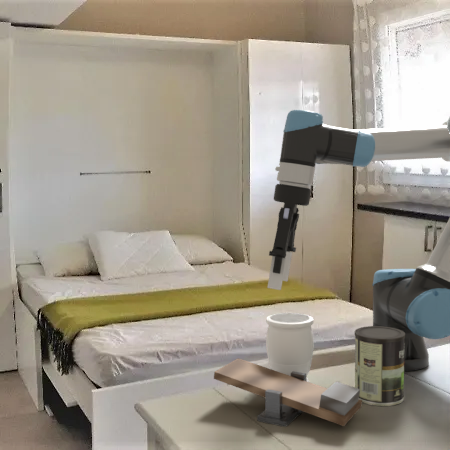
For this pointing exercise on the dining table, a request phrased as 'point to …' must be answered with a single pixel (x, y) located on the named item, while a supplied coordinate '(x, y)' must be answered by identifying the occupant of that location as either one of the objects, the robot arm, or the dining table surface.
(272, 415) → the pivot stand
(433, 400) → the dining table surface
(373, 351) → the coffee can
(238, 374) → the beam
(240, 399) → the dining table surface
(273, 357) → the jar
